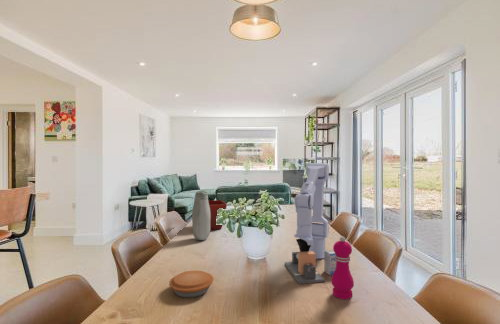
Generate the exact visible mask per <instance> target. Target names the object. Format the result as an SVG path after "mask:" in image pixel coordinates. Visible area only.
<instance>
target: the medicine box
mask: <svg viewBox="0 0 500 324" xmlns="http://www.w3.org/2000/svg"><path fill="white" fill-rule="evenodd" d="M323 260H324V262H323V264H324V265H323V271H324V272H325V273H326V274H327V275H329V276H331V277H332V276H333V274H334V272H335V269H336V260H335V252H334V250H333V249H332V250H325V251H324V258H323Z"/></svg>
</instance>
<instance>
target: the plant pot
mask: <svg viewBox="0 0 500 324" xmlns="http://www.w3.org/2000/svg"><path fill="white" fill-rule="evenodd" d="M208 202H209V207H210V214H211V218H210V231H212V230H221V229H222V227H223V225H216V216H217V210H218V209H219V208H223V209H226V210H227V206H228V205H227V204H228V203H226V202H224V201H223V200H222V199H219V200H218V199H217V200H208Z"/></svg>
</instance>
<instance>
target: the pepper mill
mask: <svg viewBox="0 0 500 324" xmlns="http://www.w3.org/2000/svg"><path fill="white" fill-rule="evenodd" d="M332 250H334V252H335V260H336V269H335V272H334V274H333V275H331V285H332V286H333V289H332V294H333V296H334V297H335V298H337V299H340V300H350V299H352V297H353V288H354V286H355V285H354V284H355V283H354V278H353V276H352V273H351V270H350V262H351V256H350V255H352V252H353V248H352V245H351V244H350V243H349V242H348V241H346V238H345V236H340V237H339V240H338V241H335V243H334V244H333V249H332Z"/></svg>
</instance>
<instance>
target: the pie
mask: <svg viewBox="0 0 500 324" xmlns="http://www.w3.org/2000/svg"><path fill="white" fill-rule="evenodd" d="M213 282H214V277H213V275H212V273H208V272H207V271H202V270H188V271H187V270H186V271H183V272H181V273H178V274H176V275H175V276H174V277H172V278H171V279H169V285H168V286H170V288H171V289H172V290H173V291H174V293H175V294H176V296H178V297H181V298H184V297H186V298H185V299H187V298H188V299H190V297H192V298H196V297H197V296H198V297H200V296H202V294H203V295H204V294H206V293H207V291H208V290H209V289H210V286H211V285H212V284H213ZM205 292H206V293H205Z"/></svg>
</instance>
